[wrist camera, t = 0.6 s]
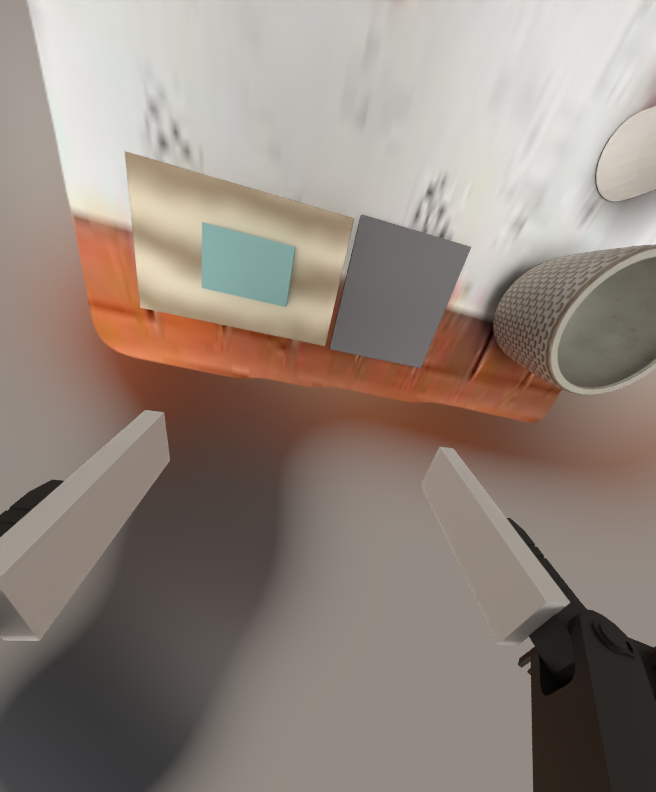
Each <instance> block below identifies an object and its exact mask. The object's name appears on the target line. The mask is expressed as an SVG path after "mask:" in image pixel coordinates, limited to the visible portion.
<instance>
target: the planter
mask: <svg viewBox="0 0 656 792" xmlns="http://www.w3.org/2000/svg"><path fill="white" fill-rule="evenodd" d="M493 332H494V336H495V339H496V342H497V344H498V346H499V347H500V348H501V350H502V351H503V352H504V353H505V354H506V355H507V356H508V357H510V358H511V359H512V360H514V361H515V362H516V363H518V364H519V365H521V366H522V367H524V368H525V369H527V370H528V371H530V372H532V373H533V374H535V375H537V376H539V377H540V378H542V379H544V380H545V381H547V382H549V383H550V384H552V385H554V386H556V387H558V388H560V389H562V390H565V391H568V392H571V393H575V394H579V395H597V394H602V393H607V392H611V391H614V390H617V389H620V388H622V387H625V386H627V385H629V384H632V383H633V382H635V381H637V380H639V379H641V378H642V377H644V376H645V375H647V374H648V373H650V372H651V371H653V370H654V369H655V368H656V245H643V246H632V247H625V248H617V249H608V250H599V251H592V252H586V253H579V254H574V255H569V256H564V257H560V258H556V259H552V260H550V261H547V262H544V263H542V264H539V265H537V266H536V267H534V268H532V269H530V270H529V271H527V272H526V273H524V274H523V275H521V276H520V277H519V278H518V279H517V280H516V281H515V282H514V283H513V284H512V285H511V286H510V287H509V288H508V289H507V291H506V292H505V294H504V295H503V297H502V298H501V300H500V302H499V304H498V306H497V309H496V312H495V316H494V322H493Z"/></svg>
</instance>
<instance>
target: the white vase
mask: <svg viewBox="0 0 656 792" xmlns="http://www.w3.org/2000/svg"><path fill="white" fill-rule="evenodd" d="M596 184H597V187H598V191H599V193H600V194H601V195H602V196H603V198H605V199H607V200H609V201H622V200H626V199H629V198H632V197H635V196H639V195H641V194H644V193H647V192H649V191H652V190H655V189H656V106H654V107H651V108H648V109H645V110H643V111H640V112H638V113H637V114H635V115H633V116H632V117H630V118H629V119H628V120H627V121H625V122H624V123H623V124H622V125H621V126H620V127H619V128H618V129H617V130H616V132H615V133H614V134H613V135H612V137H611V138H610V140H609V141H608V143H607V145H606V146H605V148H604V150H603V152H602V155H601V157H600V160H599V163H598V168H597V172H596Z"/></svg>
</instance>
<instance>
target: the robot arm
mask: <svg viewBox="0 0 656 792" xmlns="http://www.w3.org/2000/svg"><path fill="white" fill-rule="evenodd" d="M169 461H170V457H169V449H168V441H167V433H166V425H165V417H164V413H163V412H156V411H148V410H145V411H144V412H143V413H141V414H140V415H139V416H138V417H137V418H136V419H135V420H133V421H132V422H131V423H130V424H129V425H128V426H127V427H125V428H124V429H123V430H122V431H121V432H120V433H119V434H118V435H116V436H115V437H114V438H113V439H112V440H111V441H110V442H108V443H107V444H106V445H105V446H104V447H103V448H102V449H101V450H99V451H98V452H97V453H96V454H95V455H94V456H92V457H91V458H90V459H89V460H88V461H87V462H86V463H84V464H83V465H82V466H81V467H80V468H79V469H78V470H77V471H75V472H74V473H73V474H72V475H71V476H70V477H69V478H68V479H67V480H65V481H61V480H51V481H49V482H47V483H45V484H43V485H41V486H39V487H37V488H36V489H34V490H32V491H30V492H28V493H27V494H26V495H24V496H23V497H22V498H21V499H20V500H18V501H17V502H16V503H15V504H13V505H12V506H11V507H10V509H9V510H8V511H5V512H3V513H2V514H1V515H0V636H1V637H2V638H3V639H4V640H26V641H27V640H28V641H30V640H31V641H33V640H34V641H39V640H40V639H41V638H42V636H43V635H44V634H45V632H46V631H47V629H48V628H49V627H50V625H51V624H52V622H53V621H54V620H55V618H56V617H57V616H58V614H59V613H60V612H61V610H62V609H63V607H64V606H65V605H66V603H67V602H68V600H69V599H70V597H71V596H72V595H73V594H74V592H75V591H76V589H77V588H78V587H79V585H80V584H81V582H82V581H83V580H84V578H85V577H86V576H87V574H88V573H89V571H90V570H91V569H92V567H93V566H94V564H95V563H96V562H97V560H98V559H99V558H100V556H101V554H102V553H103V552H104V551H105V549H106V548H107V547H108V545H109V544H110V542H111V541H112V540H113V538H114V537H115V535H116V534H117V533H118V531H119V530H120V529H121V527H122V526H123V524H124V523H125V522H126V520H127V519H128V517H129V516H130V515H131V513H132V512H133V511H134V509H135V508H136V506H137V505H138V504H139V502H140V501H141V500H142V498H143V497H144V495H145V494H146V493H147V491H148V490H149V488H150V487H151V486H152V484H153V483H154V481H155V480H156V479H157V477H158V476H159V474H160V473H161V472H162V470H163V469H164V468H165V466H166V465H167V463H168V462H169ZM421 487H422V490H423V492H424V494H425V496H426V498H427V500H428V502H429V504H430V506H431V508H432V510H433V512H434V514H435V516H436V518H437V521H438V522H439V525H440V527H441V529H442V531H443V533H444V535H445V537H446V539H447V541H448V543H449V545H450V547H451V549H452V551H453V553H454V556H455V558H456V559H457V562H458V564H459V566H460V568H461V570H462V572H463V574H464V576H465V578H466V580H467V582H468V584H469V586H470V588H471V590H472V592H473V595H474V597H475V599H476V601H477V603H478V605H479V607H480V609H481V611H482V613H483V615H484V617H485V619H486V621H487V623H488V625H489V628H490V630H491V632H492V634H493V636H494V638H495V640H496V642H497V644H498V645H519V644H520V643H521V642H523V641H524V640H525V639H526V638H528V637H530V639H531V640H532V642H533V644H534V645H535V647H534V648H532V649H531V650H530V651H529V652H527V653H526V654H525V655H523V656H522V657H521V658H520V659H519V663H518V665H519V666H520V667H523V666H525V665H526V664H527V663H529V662H530V661H531V668H530V669H529V670H528V673H529V674H530V675H531V698H532V700H531V702H532V746H533V747H532V751H533V792H656V647H651V646H648V645H646V644H644V643H641V642H639V641H636V640H633V639H631V638H629V637H627V636H626V635H625V634H624V633H623V632H622V631H621V630H620V629H619V628H618V627H617V626H616V625H615V624H614V623H612V622H611V621H610V620H608V619H607V618H606V617H604V616H603V615H601V614H599V613H597V612H595V611H593V610H587V609H586V608H585V607H584V605H583V604H582V603H581V602H580V601H579V599H578V598H577V597H576V596H575V594H574V593H573V592H572V590H571V589H570V588H569V587H568V585H567V584H566V583H565V582H564V580H563V579H562V578H561V577H560V575H559V574H558V573H557V572H556V570H555V569H554V568H553V566H552V565H551V564H550V563H549V562H548V560H547V559H545V558H544V555H543V554H542V553H541V551H540V550H539V549H538V548H537V547H535V544H534V543H533V541H532V540H531V539H530V538H529V536H528V535H527V534H526V532H525V531H524V530H523V529H522V528H521V527H519V526H518V525H517V524H516V523H515V522H514V521H513V520H512V519H510V518H506V517H505V516H504V515H503V513H502V512H501V511H500V509H499V508H498V507H497V505H496V504H495V503H494V501H493V500H492V499H491V497H490V496H489V495H488V494H487V492H486V491H485V490H484V488H483V487H482V486H481V484H480V483H479V482H478V480H477V479H476V478H475V476H474V475H473V474H472V472H471V471H470V470H469V469H468V467H467V466H466V465H465V464H464V462H463V461H462V459H461V458H460V457H459V455H458V454H457V453H456V451H455V450H454V449H453V448H445V447H439V449H438V451H437V453H436V455H435V457H434V459H433V461H432V463H431V465H430V467H429V470H428V471H427V474H426V475H425V477H424V479H423V481H422V483H421Z"/></svg>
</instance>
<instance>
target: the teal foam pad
mask: <svg viewBox="0 0 656 792" xmlns="http://www.w3.org/2000/svg"><path fill="white" fill-rule="evenodd" d="M295 250H296V247H294V246H290V245H287V244H283V243H279V242H275V241H272V240H268V239H264V238H260V237H257V236H253V235H249V234H245V233H242V232H238V231H234V230H230V229H227V228H223V227H219V226H215V225H211V224H208V223H204V222H202V288H204V289H209V290H213V291H217V292H222V293H226V294H231V295H235V296H239V297H244V298H248V299H252V300H257V301H261V302H266V303H270V304H274V305H279V306H283V307H286V306H287V304H288V297H289V291H290V284H291V277H292V270H293V264H294V257H295Z"/></svg>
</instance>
